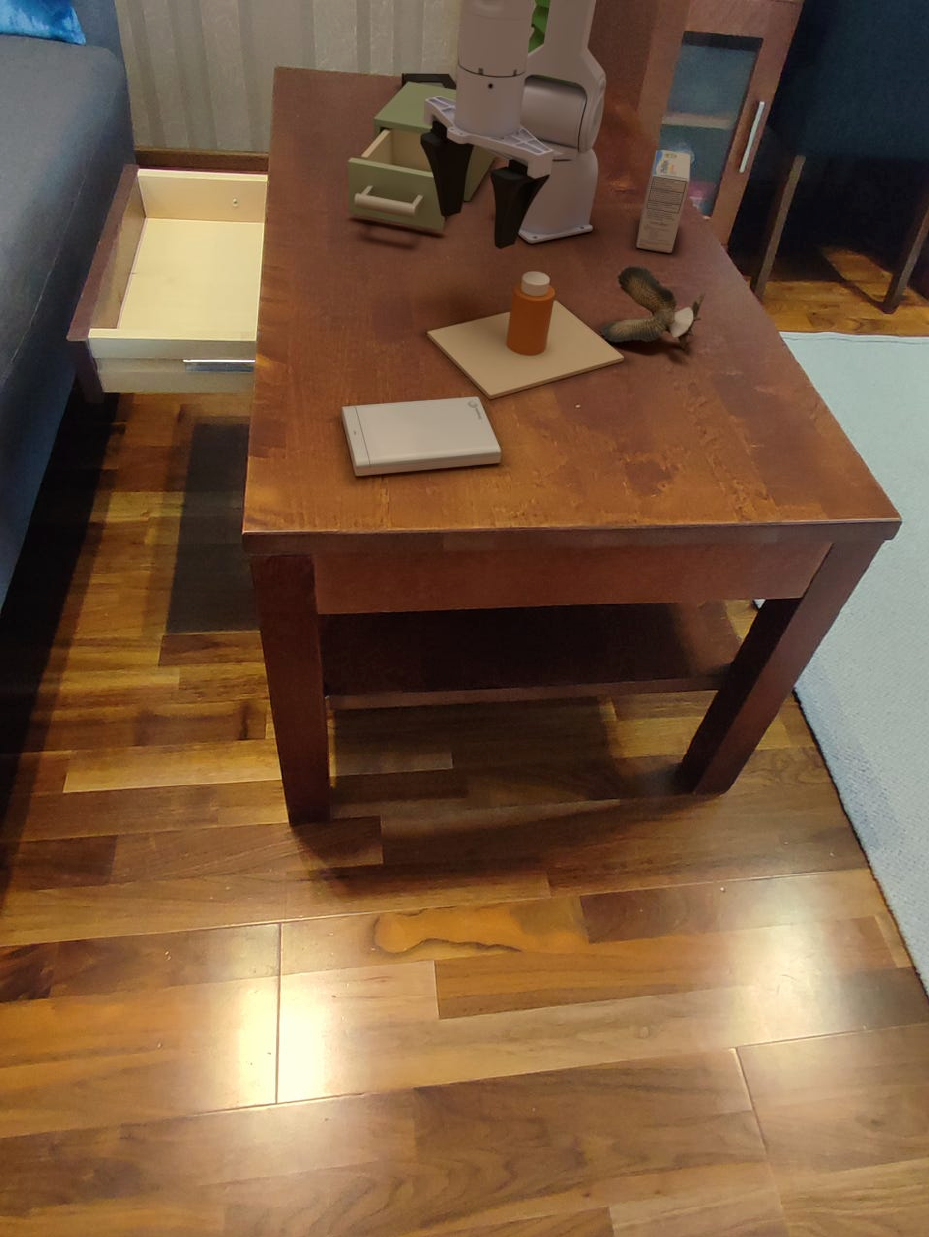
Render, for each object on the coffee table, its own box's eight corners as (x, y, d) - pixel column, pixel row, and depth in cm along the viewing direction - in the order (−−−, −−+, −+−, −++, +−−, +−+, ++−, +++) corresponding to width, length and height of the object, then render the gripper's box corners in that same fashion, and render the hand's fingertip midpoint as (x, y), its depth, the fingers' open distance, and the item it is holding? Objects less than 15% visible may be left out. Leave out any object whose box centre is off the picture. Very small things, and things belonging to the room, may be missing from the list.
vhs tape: (447, 87, 132) (448, 73, 130) (469, 122, 123) (471, 107, 122) (401, 87, 130) (401, 73, 129) (420, 122, 121) (420, 107, 120)
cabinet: (468, 201, 105) (474, 136, 100) (373, 183, 107) (373, 118, 101) (494, 159, 115) (500, 97, 109) (406, 143, 116) (408, 81, 110)
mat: (555, 304, 90) (556, 300, 90) (623, 361, 84) (624, 356, 84) (427, 335, 84) (427, 331, 84) (489, 399, 78) (490, 395, 77)
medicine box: (671, 255, 100) (691, 179, 94) (634, 248, 100) (652, 172, 94) (673, 227, 105) (693, 153, 99) (638, 221, 106) (655, 147, 99)
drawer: (431, 247, 95) (434, 194, 90) (336, 228, 96) (334, 175, 91) (469, 186, 106) (473, 137, 102) (383, 170, 107) (384, 120, 103)
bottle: (531, 330, 85) (541, 264, 80) (553, 350, 83) (565, 283, 78) (498, 338, 84) (506, 272, 79) (520, 359, 82) (530, 291, 76)
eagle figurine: (691, 311, 89) (612, 282, 89) (717, 278, 82) (633, 245, 82) (670, 375, 88) (591, 346, 88) (696, 347, 81) (610, 314, 81)
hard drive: (478, 394, 75) (341, 403, 73) (502, 450, 70) (355, 462, 68) (476, 409, 77) (341, 419, 74) (499, 465, 72) (356, 478, 69)
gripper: (399, 47, 71) (396, 210, 81) (519, 102, 64) (499, 271, 75) (460, 35, 74) (450, 193, 84) (580, 86, 68) (553, 250, 78)
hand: (477, 229), depth 80 cm, fingers open, 7 cm apart
